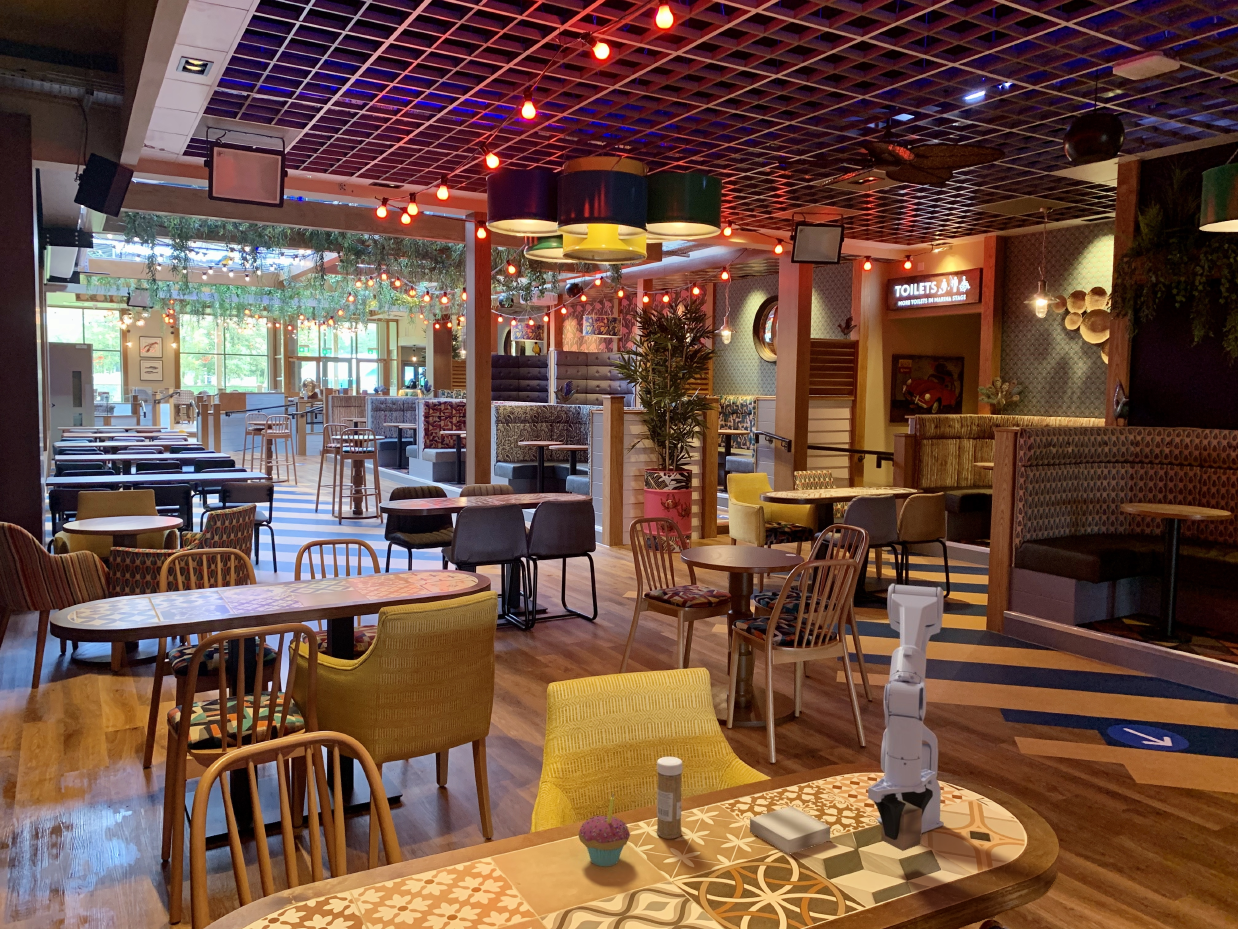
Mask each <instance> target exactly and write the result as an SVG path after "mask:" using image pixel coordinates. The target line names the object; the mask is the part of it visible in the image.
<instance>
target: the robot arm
mask: <svg viewBox="0 0 1238 929" xmlns="http://www.w3.org/2000/svg"><path fill="white" fill-rule="evenodd" d="M887 590H888V591H887V602H886V604H887V608H886V609H887V615H888V622H889V624H890V628H891V629H892V630H894V631H897V632H898V633H899V647H896V648H895V649H894V650H893V651H892V653H891V659H890V660H891V661H890V662H891V663H890V670H889V678H888V683H885V686H884V691H883V710H884V726H885V727H886V728H885V730H884V732H883V736H882V742H881V751H880V769H881V771H883V773H884V776H882V777H881V778H880V779H879V780H878V781H877V782H875V783H874V784H873V785H871V786H868V787H867V788H868V789H867V799H869V800H871V801H872V802H873V803H874V805H875V807H876V809H877V811H878V813H879V817H877V818H876V821H877V822H879V823H881V825H882V824H883V828H884V833H885V836H887V837H889V838H891V839H893V840H896V839H897V838H898V834H899V825H900V818H901V815H902V811H903V809H904V807H905V805H906V803H904V802H902V801H899V800H900V799H901V800H903V801H905V802H907V803H910V804H912V805H914V806H916V807H919V808H921V809H922V826H921V834H924V833H925V832H928V831H931V830H934V829H937V828H940V827H943V826H944V824H945V823H944V821H942V820H941V796H942V792H941V786H940V783H939V781H938V780H937V777H938V767H939V766H938V764H939V762H938V760H939V748H938V747H939V746H938V743H939V742H938V740H939V739H938V738H937V735H936V734H935V733H934V732H933V731H932V730H931V729H930V728H928V727H927V726H926V725H925V724H924V719H925V716H926V712H927V711H926V710H927V688H926V687H927V686H926V670H927V648H928V643H929V641H930V638H931V636H932V635H936V634H939V633H940V632H941V628H943V616H944V594H945V592H944V590H943V589H942V587H940V586H937V587H934V586H932V587H930V586H929V587H928V586H919V585H916V586H915V585H905V584H896V583H891V584H890V585H889V586H888V589H887ZM923 741H924V742H923ZM925 742H926V743H925Z"/></svg>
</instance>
